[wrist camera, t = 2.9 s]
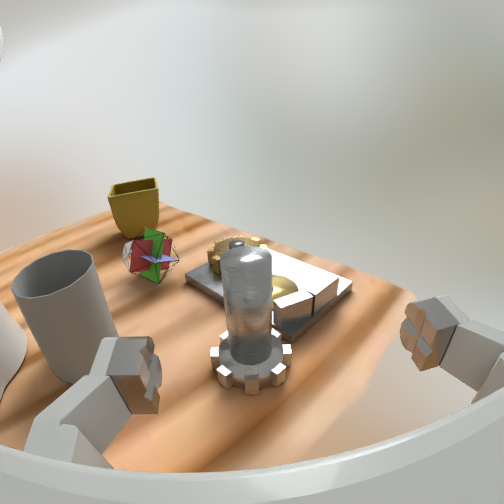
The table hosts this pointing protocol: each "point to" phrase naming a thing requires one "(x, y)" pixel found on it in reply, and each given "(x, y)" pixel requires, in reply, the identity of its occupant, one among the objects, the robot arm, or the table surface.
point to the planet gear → (249, 324)
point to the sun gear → (225, 245)
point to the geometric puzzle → (149, 255)
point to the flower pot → (135, 206)
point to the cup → (65, 310)
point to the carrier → (286, 293)
